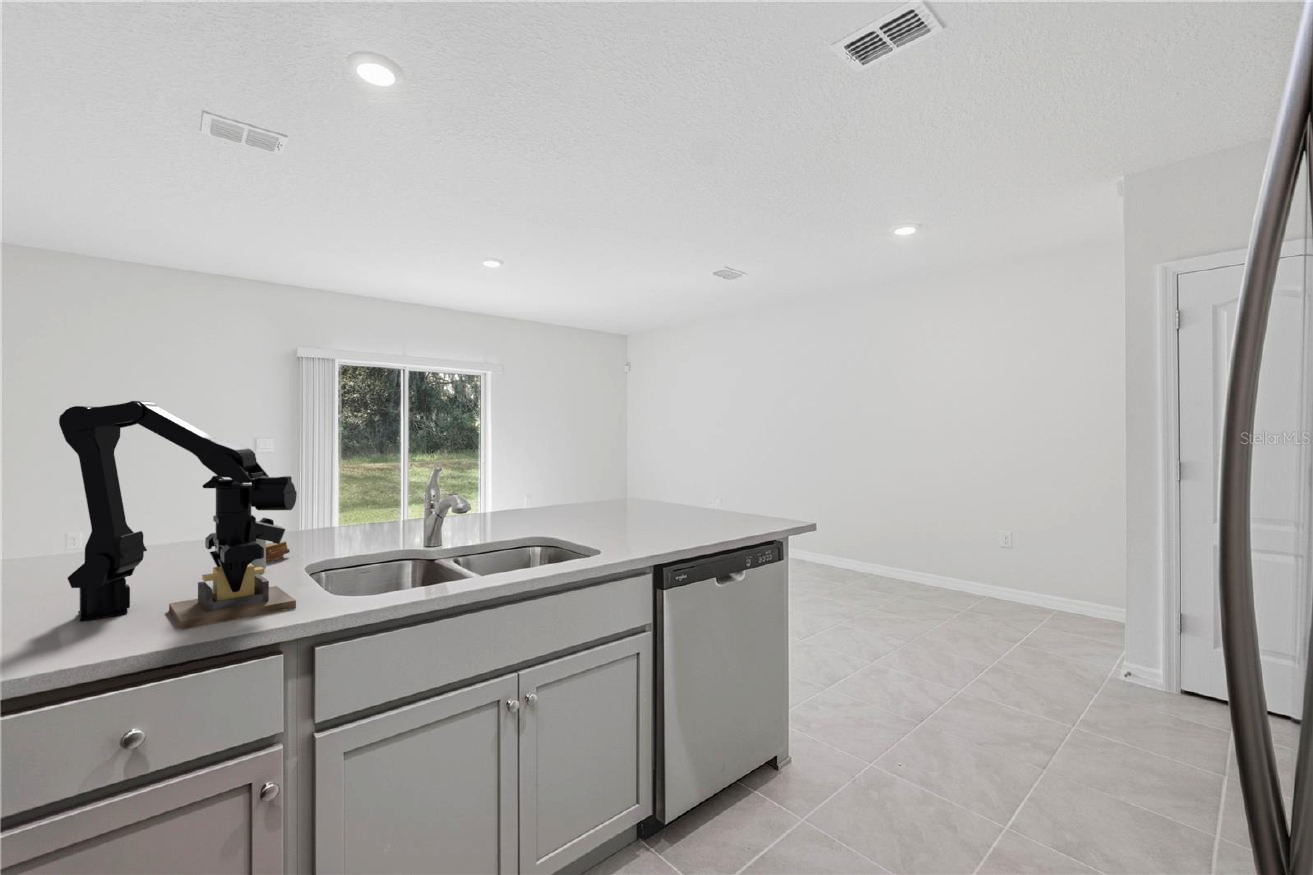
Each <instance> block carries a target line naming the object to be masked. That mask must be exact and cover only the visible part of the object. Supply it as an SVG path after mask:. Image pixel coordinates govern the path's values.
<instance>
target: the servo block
mask: <svg viewBox="0 0 1313 875" xmlns="http://www.w3.org/2000/svg"><path fill="white" fill-rule="evenodd" d="M255 574H260V575H261V574H265V569H264V568H262V567H256V568H255V566H254V565H252V564H251V563H250V564H249V565H248V566H247V569H246V572H245V575H244V578H243V581H242V584H241V588H240V591H238V592H232V590H231V588H230V586H229V583H228V581H227V579H226V577H225V575H224V572H223V570H222V568H221V566H220V567H217V566H214V567H212V573H206V574H205V573H204V574H202V576H201V579H202V581H204V582H210V581H212V590H213V598H214V600H215V601H220V600H226V599H232V598H238V597H244V596H250V595H254V583H255Z"/></svg>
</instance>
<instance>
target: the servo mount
mask: <svg viewBox="0 0 1313 875" xmlns="http://www.w3.org/2000/svg"><path fill="white" fill-rule="evenodd" d="M269 582H270V581H269V580H268V579H267V578H265V577H264V576H263V575H261V573H260V574H255V583H254V595H250V596H244V597H238V598H232V599H226V600H220V601H215V600H214V598H213V588H212V587H211V586H210V585H209V584H207V583H206V581H204V580H202V581H199V582H197V598H194V599H189V600H188V599H187V600H182V601H176V602H171V603H169V604H168V612H169V613H170V615H171V616H172V618H173V619H174V621H175V622H176V624H177V625H178V627H179V628H180V630H186V629H191V628H196V627H203V626H207V625H212V624H218V623H223V622H228V621H233V620H239V619H243V618H249V617H255V616H260V615H264V614H265V615H266V614H270V613H271V614H272V613H275V612H281V611H286V610H291V609H296V608H297V600H296V599H295V598H294V597H292V596H291V595H289V594H288V593H287V592H285V591H284V590H283V589H282V588H280V587H279V586H278V585H274V586H269V584H270V583H269ZM285 609H286V610H285Z"/></svg>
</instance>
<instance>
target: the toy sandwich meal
mask: <svg viewBox="0 0 1313 875" xmlns="http://www.w3.org/2000/svg"><path fill="white" fill-rule="evenodd" d="M289 553H291V551H290V548H288V545H287V541H281V542H280V544H276V543H273V542H268V543H267V542H266V563H271V562H274V561H278V560H280V559H282V557H283V556H284V555H286V554H289Z"/></svg>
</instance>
